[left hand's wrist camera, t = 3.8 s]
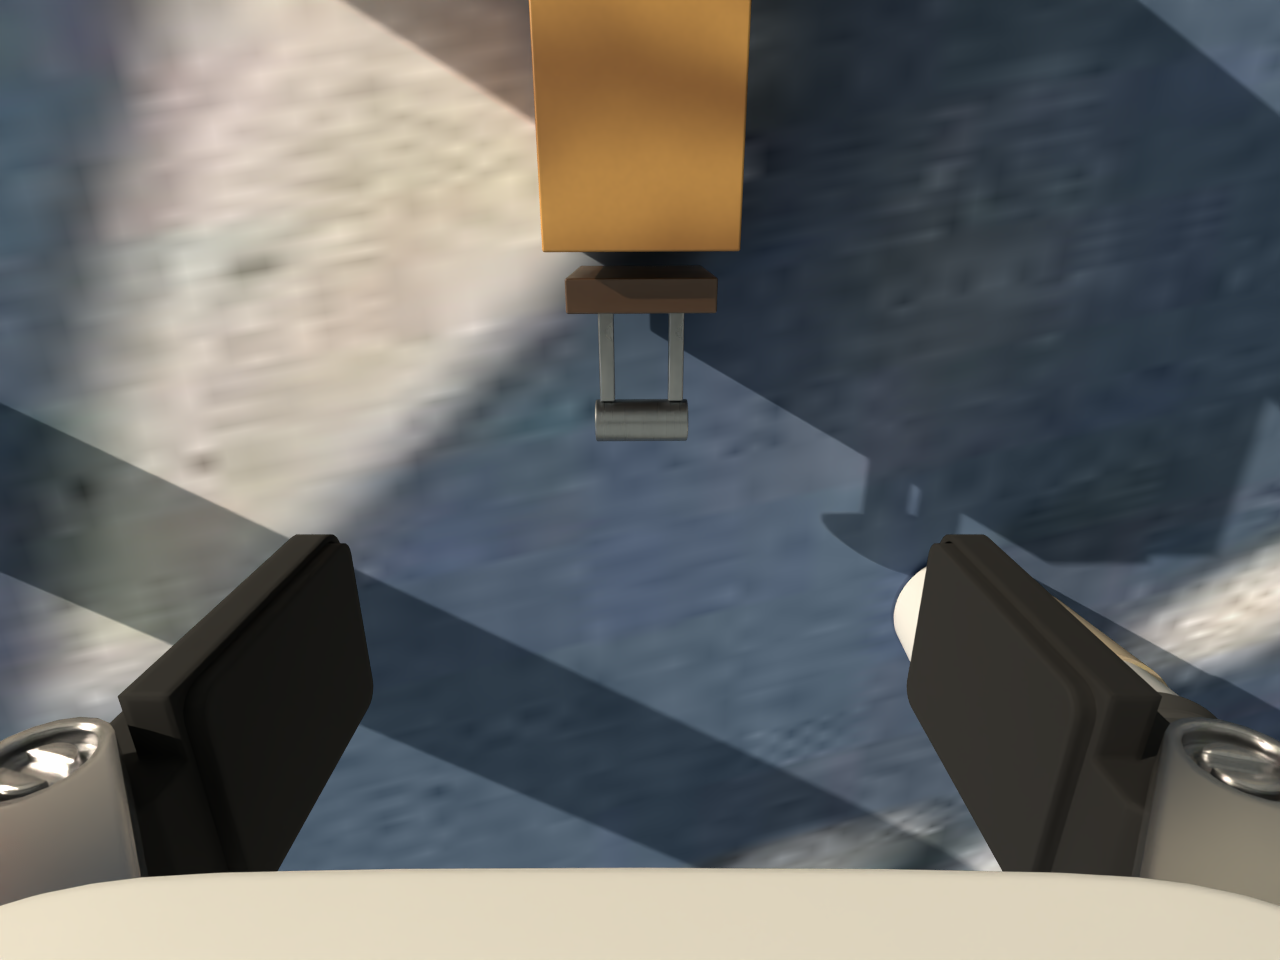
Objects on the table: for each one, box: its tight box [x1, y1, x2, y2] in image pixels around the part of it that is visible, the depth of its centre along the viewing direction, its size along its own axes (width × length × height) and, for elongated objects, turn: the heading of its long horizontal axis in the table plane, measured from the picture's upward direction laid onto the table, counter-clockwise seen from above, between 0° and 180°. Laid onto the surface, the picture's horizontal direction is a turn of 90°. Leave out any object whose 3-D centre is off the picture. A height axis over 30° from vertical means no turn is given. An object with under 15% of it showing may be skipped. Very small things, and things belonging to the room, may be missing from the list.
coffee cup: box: [894, 566, 1217, 723], centre depth 30 cm, size 9×9×15 cm
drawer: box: [565, 265, 718, 441], centre depth 25 cm, size 23×5×7 cm, turn 0°
